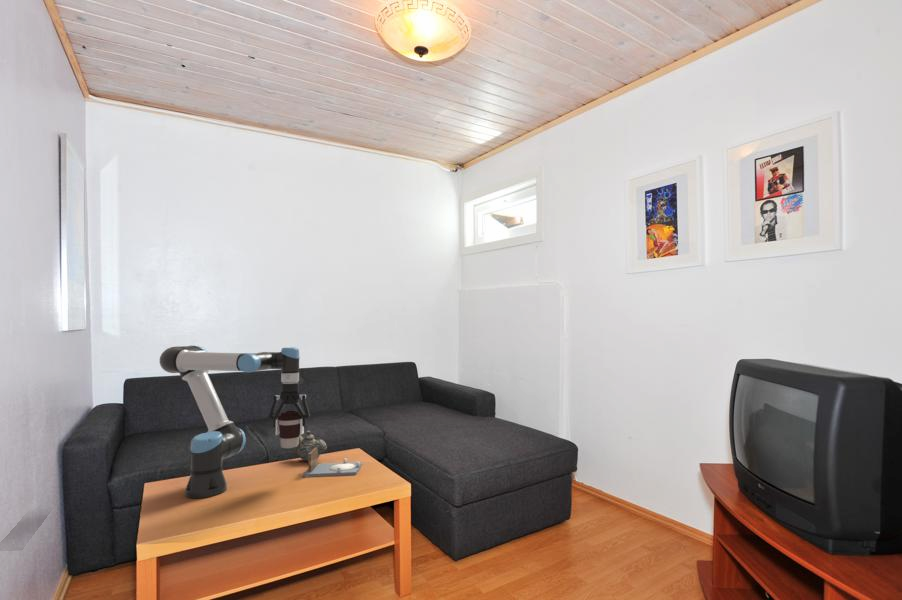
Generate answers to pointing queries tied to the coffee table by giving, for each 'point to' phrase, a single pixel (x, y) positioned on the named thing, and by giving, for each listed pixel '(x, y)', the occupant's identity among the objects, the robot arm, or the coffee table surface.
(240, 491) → the coffee table surface
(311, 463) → the panel
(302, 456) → the teapot
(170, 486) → the coffee table surface
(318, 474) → the grey flat slab
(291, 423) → the coffee cup
